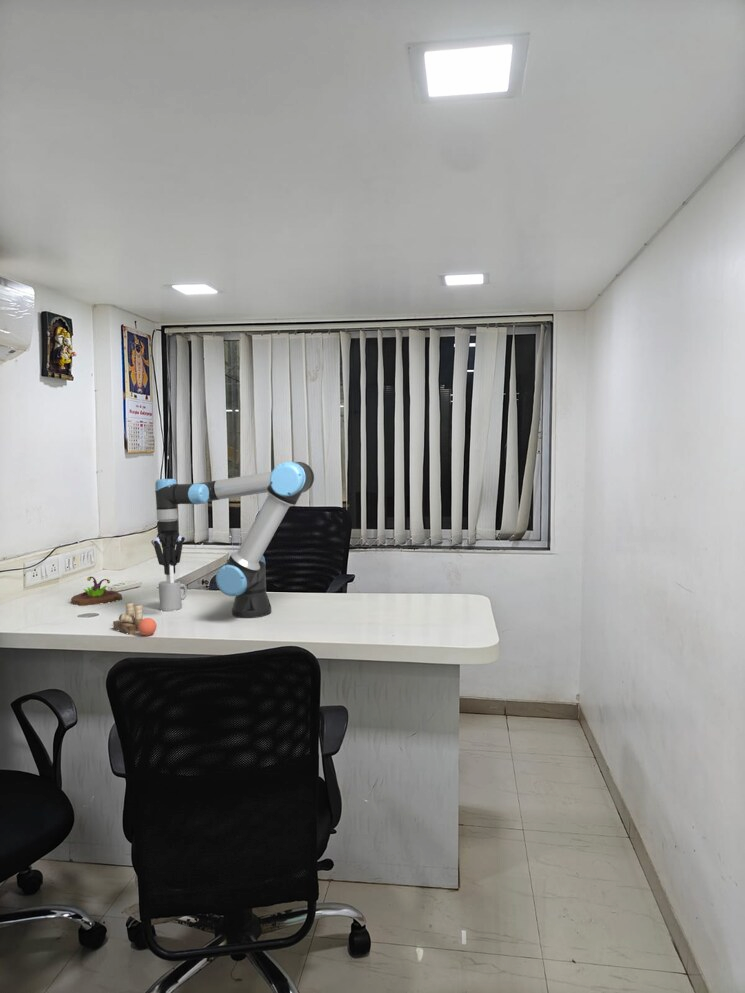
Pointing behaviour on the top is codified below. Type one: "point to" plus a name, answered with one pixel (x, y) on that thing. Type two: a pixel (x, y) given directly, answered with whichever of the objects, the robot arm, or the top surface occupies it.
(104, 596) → the plant
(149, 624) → the ball
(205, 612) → the top surface
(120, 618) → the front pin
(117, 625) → the brown long block
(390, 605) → the top surface
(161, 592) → the mug
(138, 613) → the pin
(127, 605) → the pin
